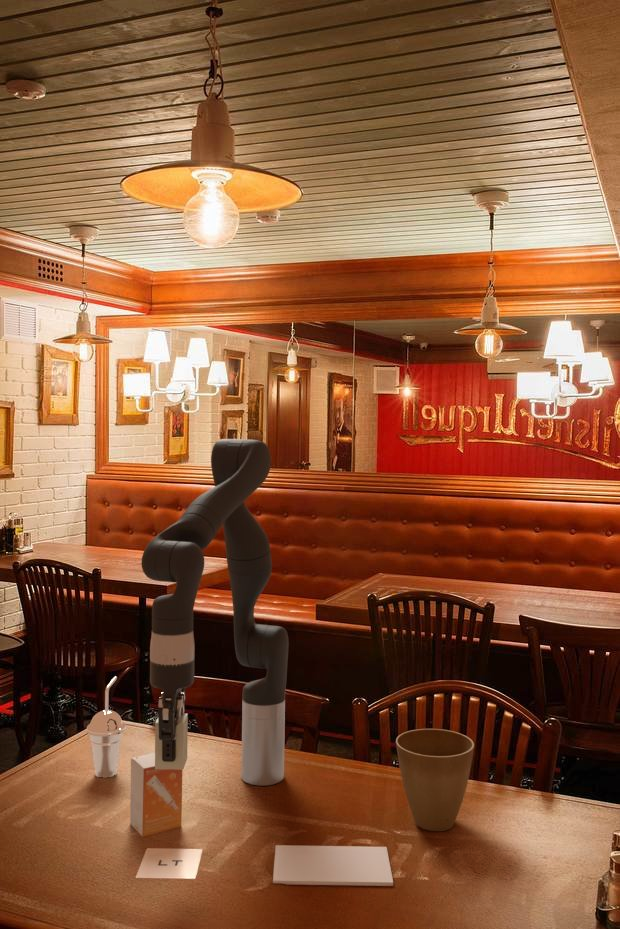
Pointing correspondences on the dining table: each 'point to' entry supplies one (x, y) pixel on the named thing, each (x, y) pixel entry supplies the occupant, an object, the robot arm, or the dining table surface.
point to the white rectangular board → (332, 865)
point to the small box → (154, 796)
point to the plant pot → (434, 774)
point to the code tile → (170, 863)
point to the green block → (180, 746)
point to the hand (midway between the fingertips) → (171, 754)
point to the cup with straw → (106, 739)
